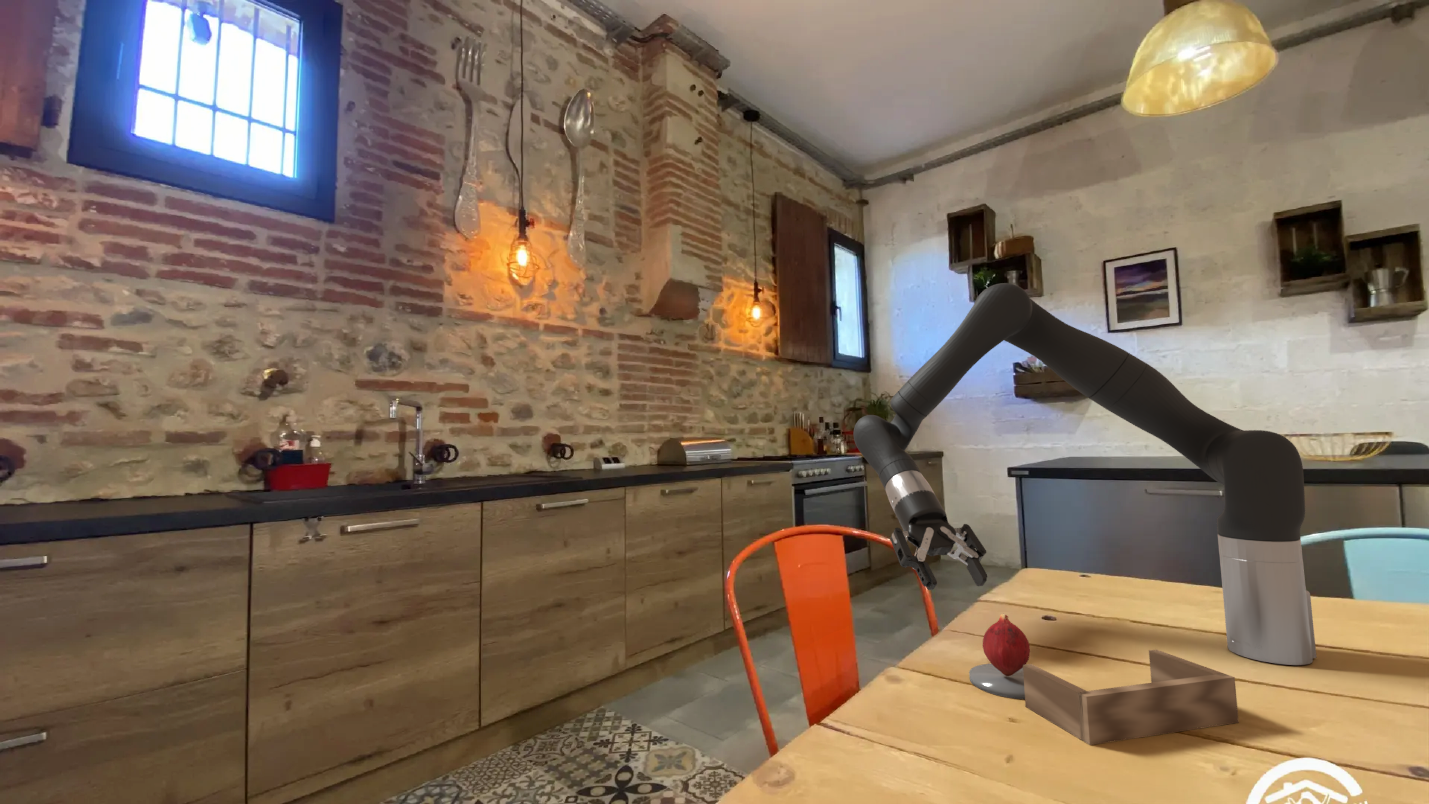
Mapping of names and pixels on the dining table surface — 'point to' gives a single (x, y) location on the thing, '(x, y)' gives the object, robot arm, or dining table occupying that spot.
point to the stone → (998, 681)
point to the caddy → (1136, 701)
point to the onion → (1006, 646)
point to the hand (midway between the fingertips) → (958, 585)
